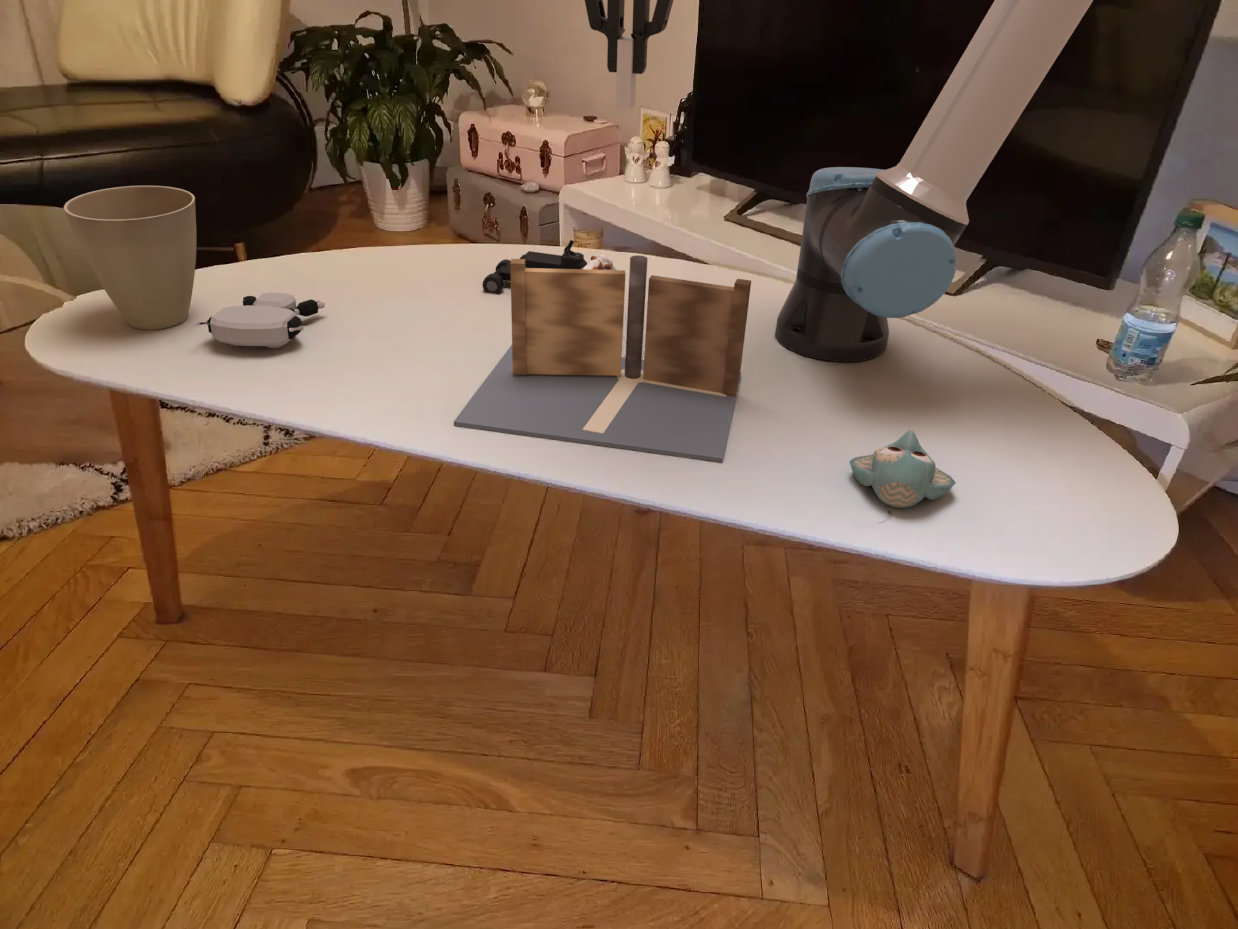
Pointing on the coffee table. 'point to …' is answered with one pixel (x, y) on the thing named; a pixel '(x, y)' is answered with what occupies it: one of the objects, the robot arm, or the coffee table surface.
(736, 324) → the rod
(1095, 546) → the coffee table surface
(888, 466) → the stuffed animal
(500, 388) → the board
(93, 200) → the plant pot
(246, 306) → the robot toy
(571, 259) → the toy vehicle
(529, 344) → the fence panel
